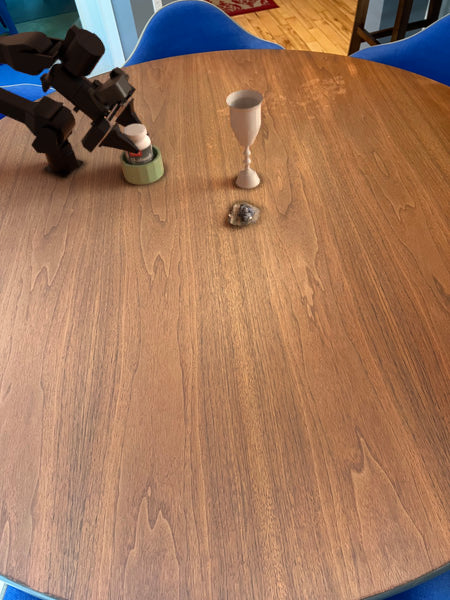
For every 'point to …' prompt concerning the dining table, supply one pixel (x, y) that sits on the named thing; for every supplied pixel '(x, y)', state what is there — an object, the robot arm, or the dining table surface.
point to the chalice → (245, 129)
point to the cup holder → (143, 169)
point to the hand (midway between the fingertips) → (143, 144)
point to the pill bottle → (138, 145)
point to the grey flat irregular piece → (243, 214)
